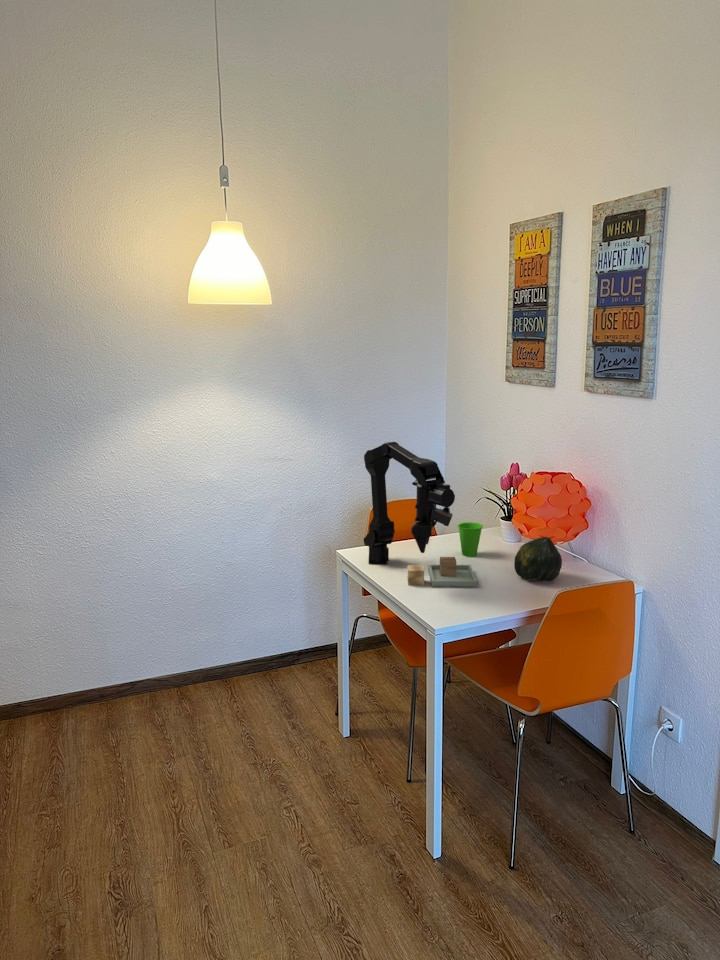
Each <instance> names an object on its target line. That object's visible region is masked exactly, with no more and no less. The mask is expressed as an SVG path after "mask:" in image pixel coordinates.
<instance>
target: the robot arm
mask: <svg viewBox="0 0 720 960" xmlns="http://www.w3.org/2000/svg"><path fill="white" fill-rule="evenodd" d="M391 459H392V460H394V461H396V462H397V463H399V464H401V465H402V466H404V467H406V468H407V469H408V470H409V473H410V475H412V477H413V478H414V479H415V480H414V481H413V482H412V483H411V484H412V485H413V486H414V487H415V486H416V504H415V506H414V507H415V511H416V513H415V514H416V515H415V517H414V518H415V519H414V521H415V522H414V523H413V524H412V526H411V531H410V532H411V533H410V534H412V536H413V538H414V540H415V543H416V544H417V547H418V549H419V551H420V553H422V554H425V552H426V548H427V547H426V546H427V545H429V541H430V538H431V536H432V534H433V532H434V531H433V530H434V529H433V528H434V527H435V526H436V525H437V523H439V524H441V525H443V526H445V527H449V525H450V523H451V521H452V518H453V515H454V514H453V513H452V512H451V509H450V507H451V506H453V504H454V503H455V498H456V494H455V492H454V490H453V489H451V485H450V484H446V482H445V479H444V476H443V474H442V472H441V470H440V468H439V466H438V463H437V462H436V461H435V460H432V459H429V458H423V457H419V456H418V455H416V454H414V453H413V452H411V451H409V449H406V448H405V447H403V446H401V445H400V444H399V443H398V442H396V441H388V442H384V443H383V444H381V445H379V446H377V447H374V448H373V449H368V450H366V452H365V453H364V455H363V460H364V465H365V466H364V467H365V470H366V471H367V472H368V473H369V475H370V486H371V500H372V518H371V521H370V523H369V525H368V533H367V534H365V535H366V536H365V537H364V538H363V539H362V540H363V543H364V544H363V545H364V546H366V547H368V564H369V565H377V564H378V565H387V564H388V561H389V559H390V557H389V556H390V555H389V553H390V552H389V550H390V549H389V547H388V545H392V541H393V539H394V536H395V533H396V531H395V521H394V520H391V519H390V518H389V516H388V515H389V514H388V501H387V500H388V499H387V485H386V484H387V483H386V473H387V472H388V471H389V468H390V460H391ZM437 506H439V507H443V508H438V507H437Z"/></svg>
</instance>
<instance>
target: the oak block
mask: <svg viewBox="0 0 720 960" xmlns="http://www.w3.org/2000/svg"><path fill="white" fill-rule="evenodd" d="M424 568H425V567H424V565H409V564H408V565H407V586H416V587H417V586H419V587H421V586H425V569H424Z"/></svg>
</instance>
